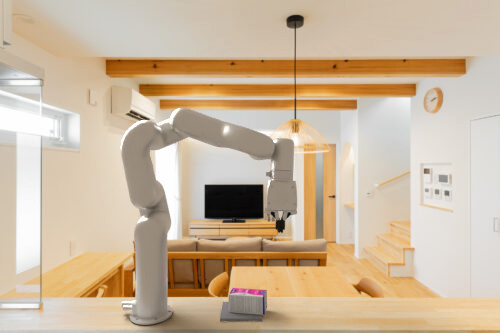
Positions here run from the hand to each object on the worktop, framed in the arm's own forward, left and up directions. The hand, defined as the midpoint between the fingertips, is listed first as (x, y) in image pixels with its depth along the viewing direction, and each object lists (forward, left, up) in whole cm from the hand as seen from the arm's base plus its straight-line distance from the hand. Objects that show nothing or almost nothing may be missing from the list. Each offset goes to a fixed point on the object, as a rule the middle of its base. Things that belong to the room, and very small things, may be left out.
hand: (280, 231), depth 102 cm
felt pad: (-13, -3, -25) cm, 28 cm away
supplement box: (-5, -4, -21) cm, 22 cm away
